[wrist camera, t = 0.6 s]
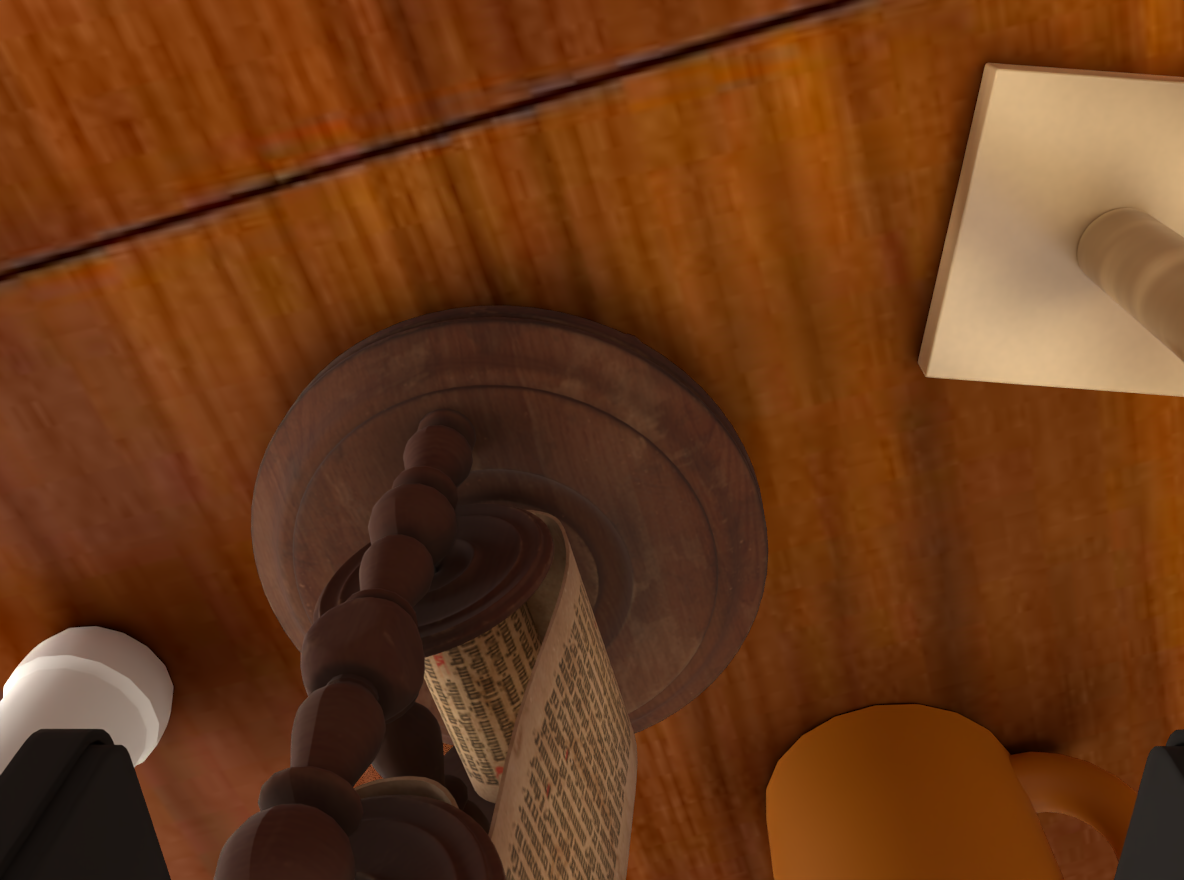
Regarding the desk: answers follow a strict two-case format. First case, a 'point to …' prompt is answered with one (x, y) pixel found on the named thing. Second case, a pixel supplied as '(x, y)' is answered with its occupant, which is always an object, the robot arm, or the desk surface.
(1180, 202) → the wooden peg stand
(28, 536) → the desk surface
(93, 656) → the bottle
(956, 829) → the mug
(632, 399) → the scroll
